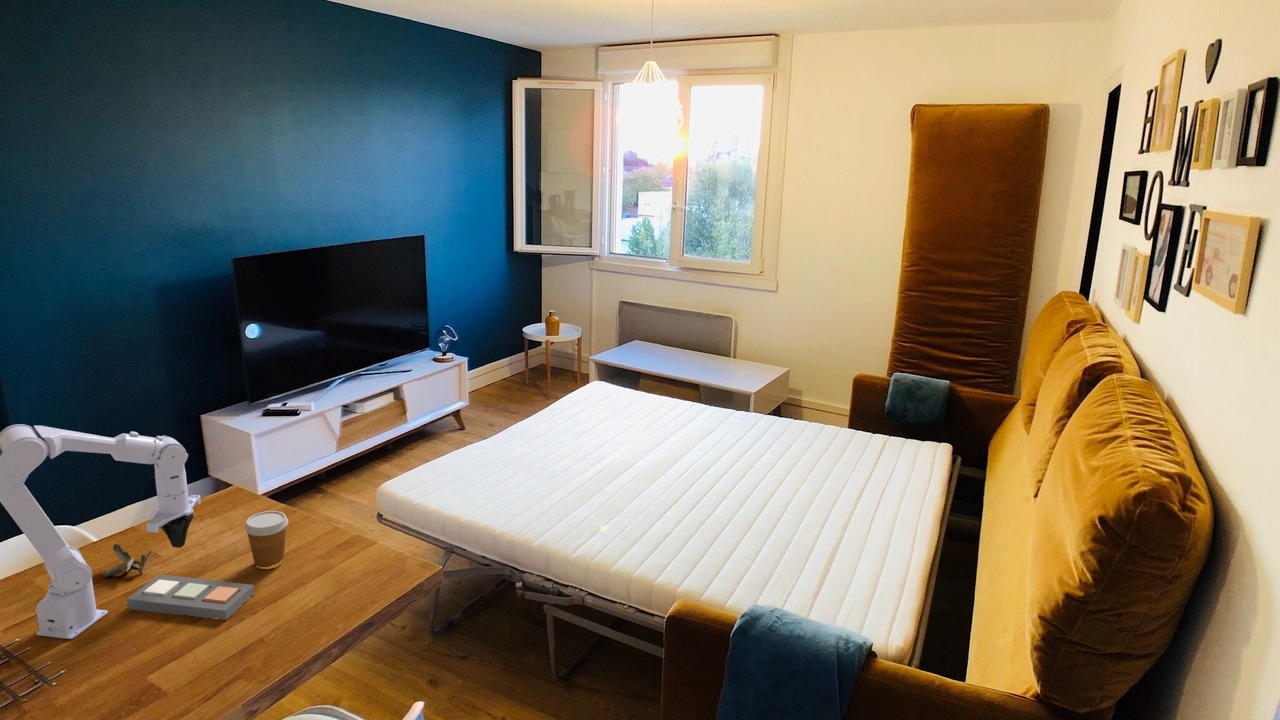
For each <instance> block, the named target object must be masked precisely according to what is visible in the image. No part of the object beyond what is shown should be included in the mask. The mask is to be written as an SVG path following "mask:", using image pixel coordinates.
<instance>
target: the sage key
mask: <svg viewBox="0 0 1280 720" xmlns="http://www.w3.org/2000/svg"><path fill="white" fill-rule="evenodd" d="M208 589H209V585H203V584H195V583H188V584H187V585H185V586H184V587H183V588H182V589H180V590H179V591H178V592H177V593H175V594H174V598H179V599H188V600H196V599H197V598H199V597H200V596H201V595H202V594H203V593H205V592H206V591H207V590H208Z"/></svg>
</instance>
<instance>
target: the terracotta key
mask: <svg viewBox="0 0 1280 720" xmlns="http://www.w3.org/2000/svg"><path fill="white" fill-rule="evenodd" d="M238 592H239V589H238V588H229V587H221V586H218V587H217V588H216V589H214V590H213V591H212V592H211V593H210V594H208V595H207V596H206V597H205V598H204V601H205V602H213V603H222V604H226V603H227V602H228V601H229V600H231V599H232V598H233V597H234V596H235V595H236V594H237V593H238Z"/></svg>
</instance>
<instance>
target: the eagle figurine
mask: <svg viewBox="0 0 1280 720" xmlns="http://www.w3.org/2000/svg"><path fill="white" fill-rule="evenodd" d="M112 547H113V548H112V550H113V552H114V554H115V555H116V557H117V558H118V559H119V560H121V561H123V563H120V564H117V565H113V566H111V567H110V568H108V569H107V570H105V571H104V572H103V573H102V574H101V577H102V578H107V577H109V576H117V575H120V574H122V573H123V572H124V571H125V570H126V572H128V571H129V570H133V571H138V573H139V575H141V576H142V575H143V569H144V567H145V564H146V562H147V561H148V559H149V557H150V556H151V554H152V549H150V550H149V552H148V553H147V555H145V554H141V558H140V560H135V559H134V557H132V558H131V555H130V554H129V553H128V551H126V550H125V551H124V550H123V548H122V547H121V545H120V544H118V543H114V544H113V546H112ZM137 564H138V567H137V566H135V565H137Z"/></svg>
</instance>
